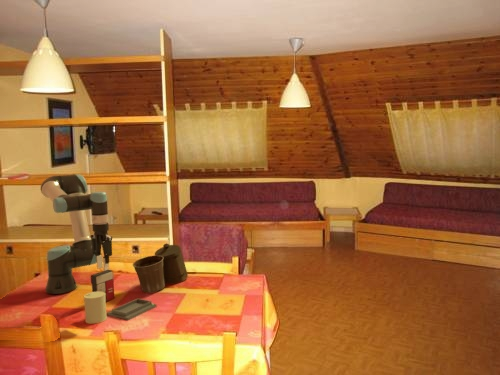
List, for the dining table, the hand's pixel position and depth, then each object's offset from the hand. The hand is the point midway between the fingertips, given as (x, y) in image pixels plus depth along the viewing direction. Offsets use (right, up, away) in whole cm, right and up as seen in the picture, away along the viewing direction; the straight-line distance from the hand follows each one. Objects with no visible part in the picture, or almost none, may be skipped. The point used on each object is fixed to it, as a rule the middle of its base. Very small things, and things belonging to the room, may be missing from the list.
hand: (103, 269), depth 207 cm
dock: (+18, -17, -11) cm, 27 cm away
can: (+4, -19, -20) cm, 28 cm away
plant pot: (+21, -14, +17) cm, 30 cm away
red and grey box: (0, -17, +2) cm, 17 cm away
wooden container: (+31, -12, +30) cm, 44 cm away
